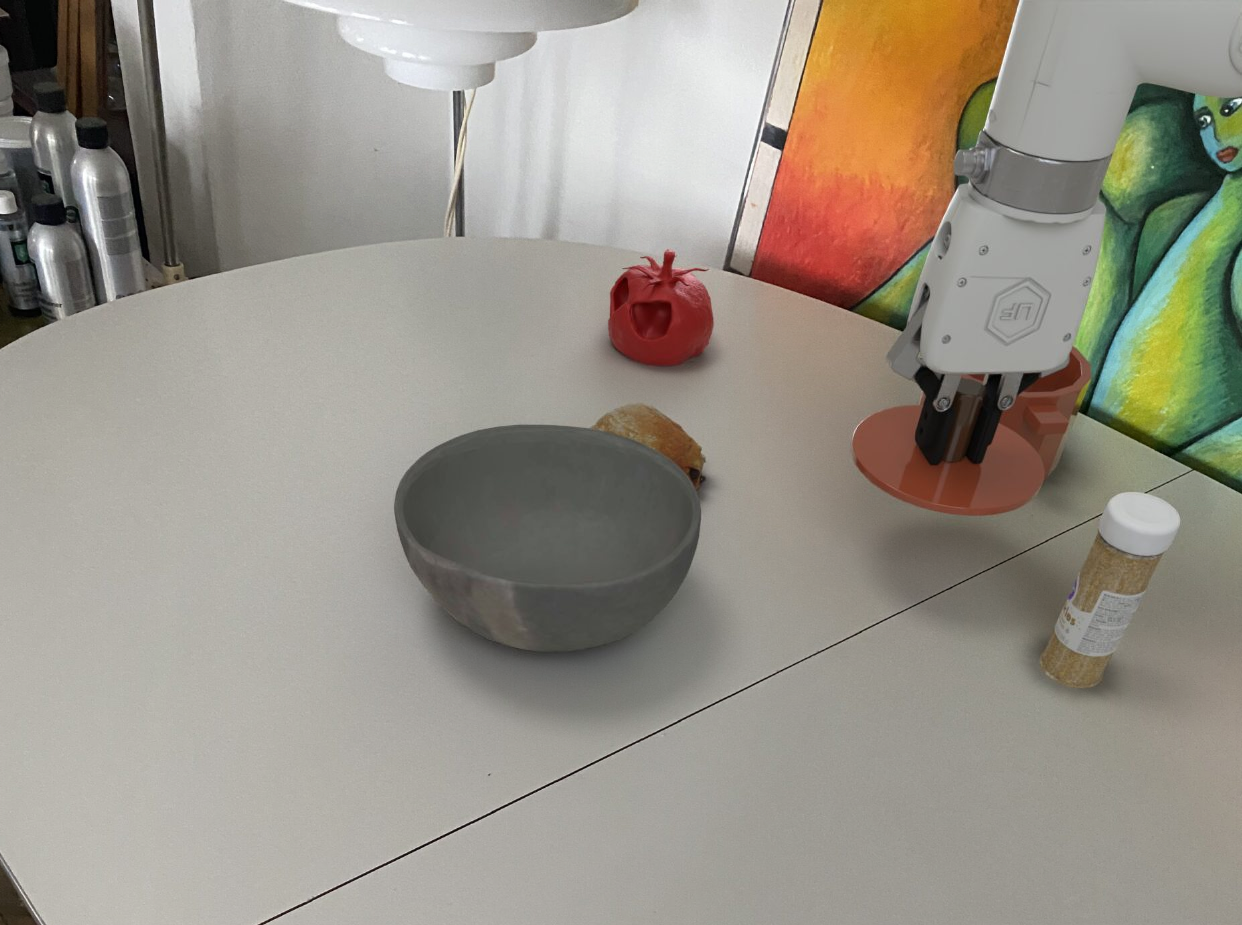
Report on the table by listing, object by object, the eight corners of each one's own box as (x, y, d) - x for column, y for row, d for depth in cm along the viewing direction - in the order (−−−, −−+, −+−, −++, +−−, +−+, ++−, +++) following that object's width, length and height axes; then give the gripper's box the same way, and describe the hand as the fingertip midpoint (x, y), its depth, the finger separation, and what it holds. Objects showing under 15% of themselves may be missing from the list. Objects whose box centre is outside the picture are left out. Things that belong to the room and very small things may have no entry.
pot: (1008, 397, 112) (1039, 305, 105) (1092, 507, 100) (1133, 412, 94) (879, 400, 109) (903, 307, 103) (950, 514, 98) (982, 416, 92)
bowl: (737, 599, 89) (759, 478, 81) (581, 754, 77) (591, 629, 69) (515, 501, 95) (517, 380, 88) (341, 630, 83) (326, 503, 76)
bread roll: (616, 483, 104) (584, 395, 99) (727, 462, 99) (698, 369, 94) (577, 544, 98) (540, 453, 93) (693, 525, 93) (660, 429, 88)
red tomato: (667, 318, 117) (677, 217, 110) (730, 363, 112) (746, 260, 105) (582, 340, 113) (588, 237, 106) (644, 387, 108) (654, 282, 101)
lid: (995, 417, 92) (1022, 337, 87) (1070, 520, 83) (1105, 437, 78) (824, 421, 89) (843, 340, 85) (884, 528, 81) (908, 443, 76)
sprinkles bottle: (1031, 650, 87) (1102, 485, 77) (1095, 657, 87) (1174, 493, 77) (1041, 691, 84) (1116, 525, 74) (1106, 699, 84) (1190, 534, 74)
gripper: (932, 197, 68) (856, 487, 82) (1191, 199, 70) (1075, 479, 84) (888, 147, 72) (824, 429, 86) (1132, 150, 75) (1032, 423, 89)
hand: (948, 452), depth 85 cm, fingers closed on lid, 2 cm apart
